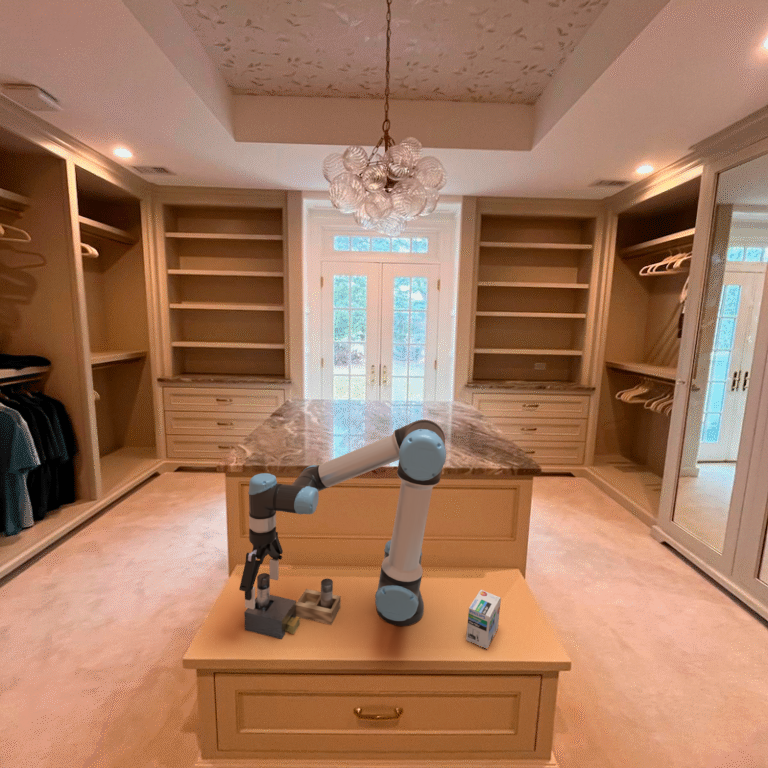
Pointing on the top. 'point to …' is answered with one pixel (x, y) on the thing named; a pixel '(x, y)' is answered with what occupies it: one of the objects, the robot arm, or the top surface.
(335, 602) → the rack
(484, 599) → the light bulb box
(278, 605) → the socket block
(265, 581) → the grey peg
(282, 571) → the top surface
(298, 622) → the yellow rectangular block
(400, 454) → the robot arm
